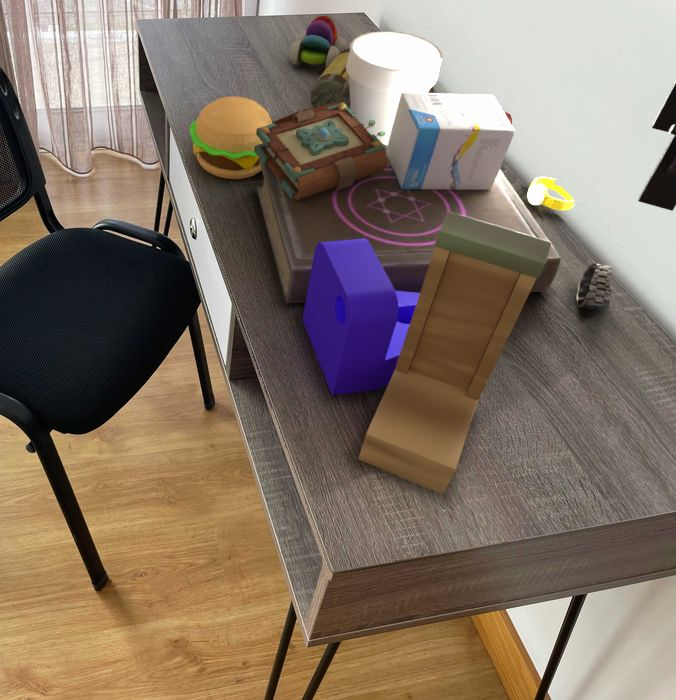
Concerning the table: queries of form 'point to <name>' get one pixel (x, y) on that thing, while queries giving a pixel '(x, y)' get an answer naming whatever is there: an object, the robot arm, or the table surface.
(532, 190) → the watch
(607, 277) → the wristwatch
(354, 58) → the cup
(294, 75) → the table surface
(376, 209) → the book
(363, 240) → the bracket
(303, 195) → the decorative book
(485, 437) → the table surface
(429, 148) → the ink box
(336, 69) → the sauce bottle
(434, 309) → the two-tone angled block
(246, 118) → the hamburger
